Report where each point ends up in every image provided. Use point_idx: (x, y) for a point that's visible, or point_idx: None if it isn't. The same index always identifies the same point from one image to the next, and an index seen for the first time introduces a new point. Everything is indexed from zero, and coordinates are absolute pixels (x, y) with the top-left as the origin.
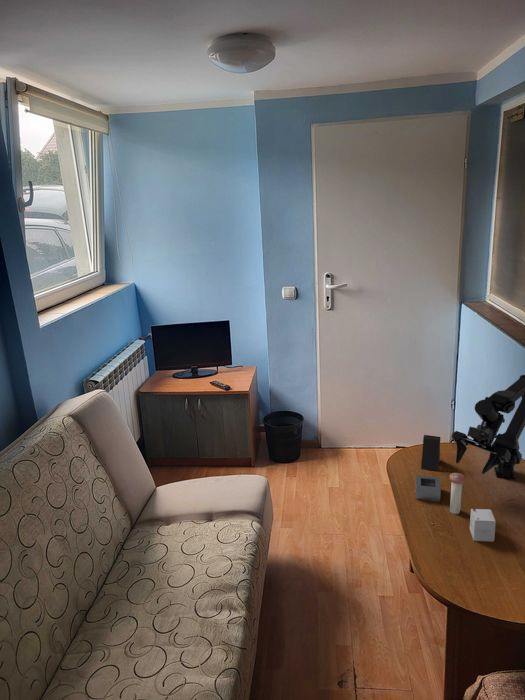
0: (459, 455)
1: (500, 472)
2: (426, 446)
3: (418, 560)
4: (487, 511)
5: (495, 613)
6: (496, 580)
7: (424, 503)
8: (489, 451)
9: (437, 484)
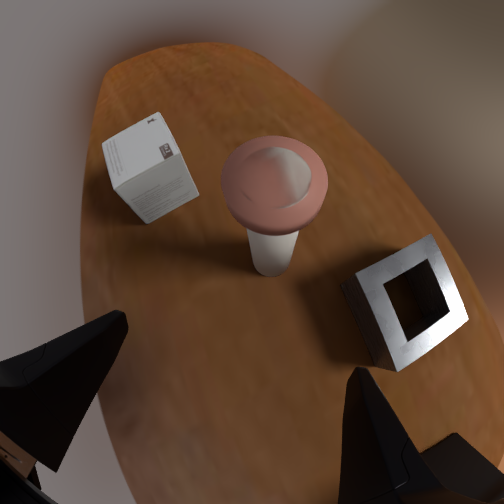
0: (369, 422)
1: None
2: (490, 480)
3: (268, 62)
4: (123, 170)
5: (133, 59)
6: (128, 96)
7: (375, 242)
8: (43, 495)
9: (384, 310)
